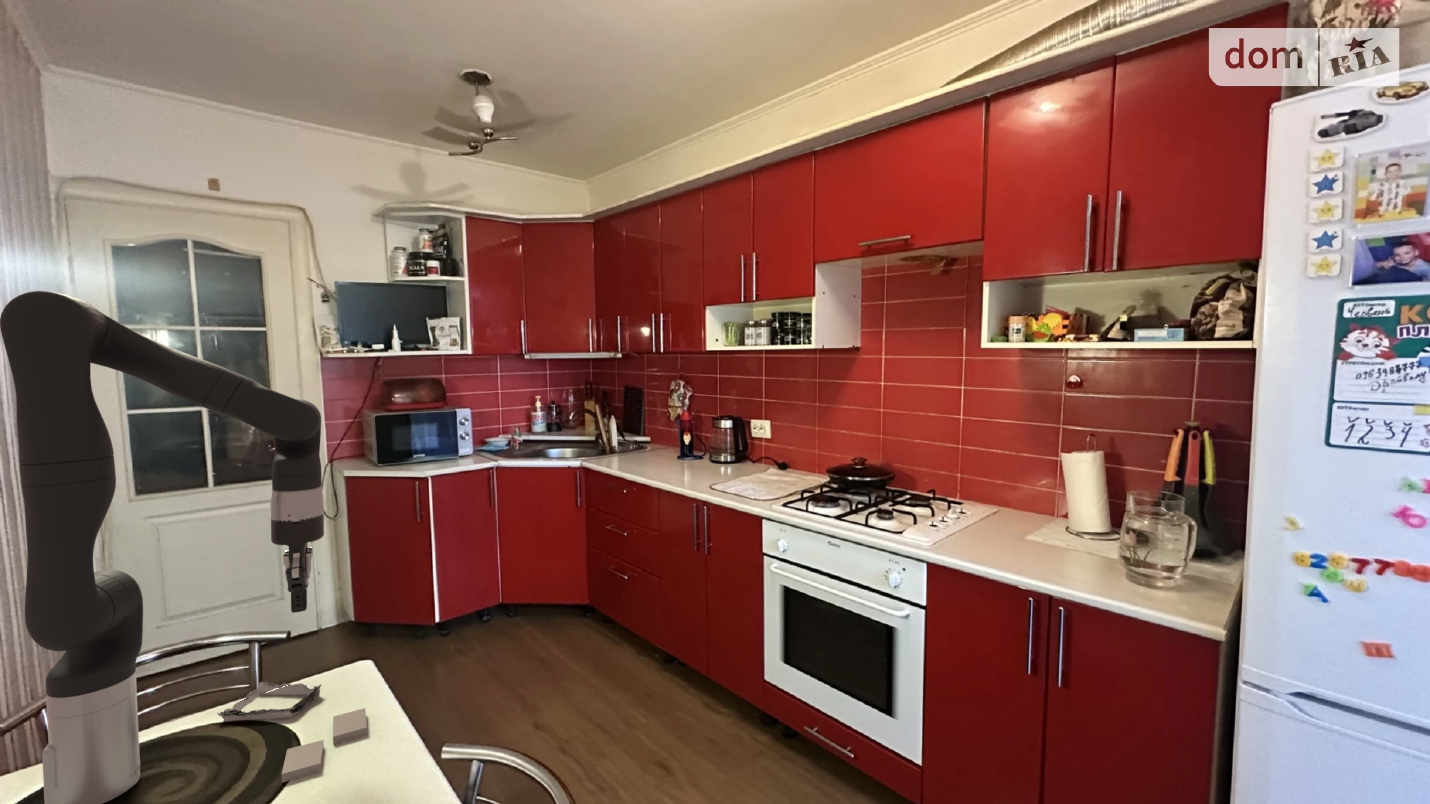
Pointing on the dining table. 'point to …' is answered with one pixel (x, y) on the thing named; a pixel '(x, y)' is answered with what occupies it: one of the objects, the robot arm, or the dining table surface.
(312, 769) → the beige flat slab
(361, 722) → the beige rectangular block
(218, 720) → the dining table surface
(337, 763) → the dining table surface
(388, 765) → the dining table surface
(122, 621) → the robot arm
